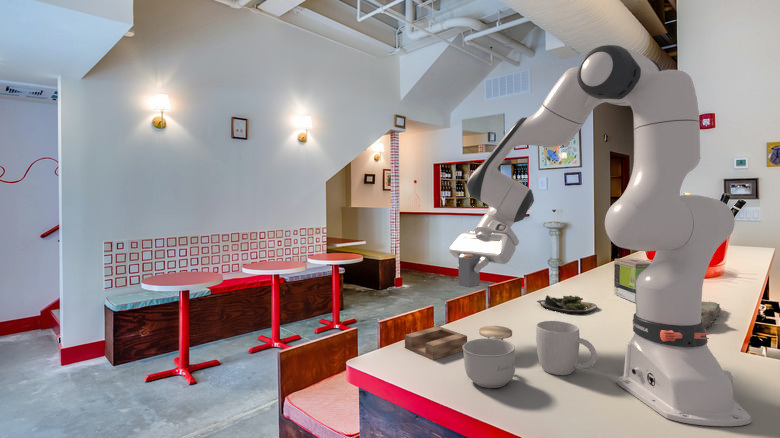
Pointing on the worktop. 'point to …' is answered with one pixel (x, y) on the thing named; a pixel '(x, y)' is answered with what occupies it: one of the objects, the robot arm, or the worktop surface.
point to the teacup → (489, 361)
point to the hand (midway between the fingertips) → (467, 270)
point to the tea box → (628, 276)
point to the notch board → (435, 342)
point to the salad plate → (567, 305)
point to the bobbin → (495, 332)
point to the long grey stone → (709, 313)
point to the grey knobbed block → (468, 271)
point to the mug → (561, 347)
